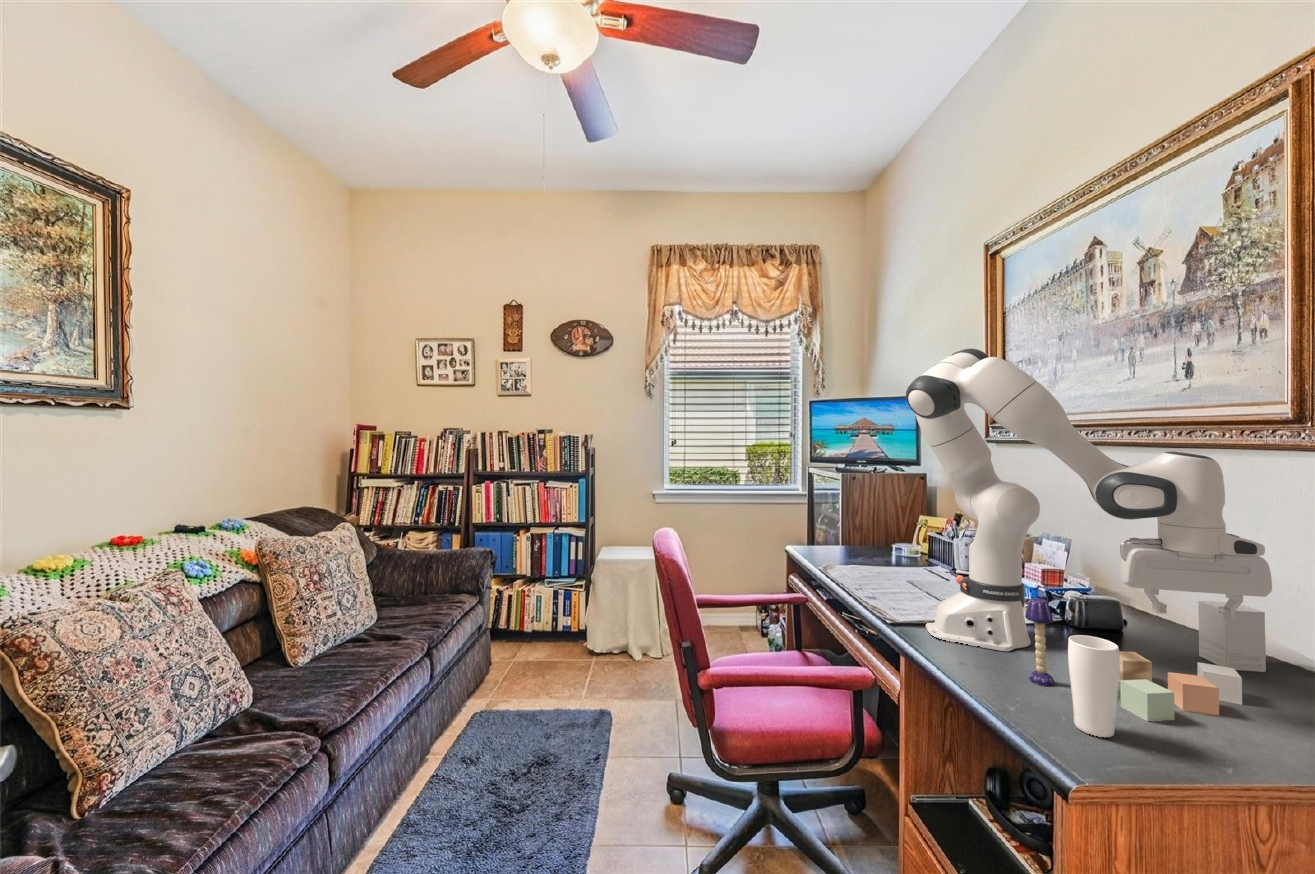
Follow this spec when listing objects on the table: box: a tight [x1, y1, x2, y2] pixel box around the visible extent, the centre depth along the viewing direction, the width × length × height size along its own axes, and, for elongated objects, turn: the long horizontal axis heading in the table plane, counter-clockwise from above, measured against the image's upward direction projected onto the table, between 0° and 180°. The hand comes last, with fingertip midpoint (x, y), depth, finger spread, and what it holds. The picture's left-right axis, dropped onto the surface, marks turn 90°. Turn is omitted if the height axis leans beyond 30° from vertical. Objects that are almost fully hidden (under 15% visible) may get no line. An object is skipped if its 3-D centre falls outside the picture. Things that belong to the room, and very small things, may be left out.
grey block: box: [1196, 662, 1243, 706], centre depth 101 cm, size 5×5×5 cm
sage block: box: [1119, 679, 1175, 722], centre depth 95 cm, size 5×5×5 cm
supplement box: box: [1197, 600, 1267, 673], centre depth 115 cm, size 7×7×13 cm
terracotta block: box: [1167, 671, 1220, 716], centre depth 97 cm, size 5×5×5 cm
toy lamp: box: [1024, 597, 1056, 687], centre depth 107 cm, size 5×5×17 cm
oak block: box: [1119, 650, 1153, 683], centre depth 108 cm, size 5×5×5 cm
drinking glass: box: [1067, 634, 1120, 739], centre depth 90 cm, size 7×7×15 cm
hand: (1192, 615), depth 97 cm, fingers open, 8 cm apart
